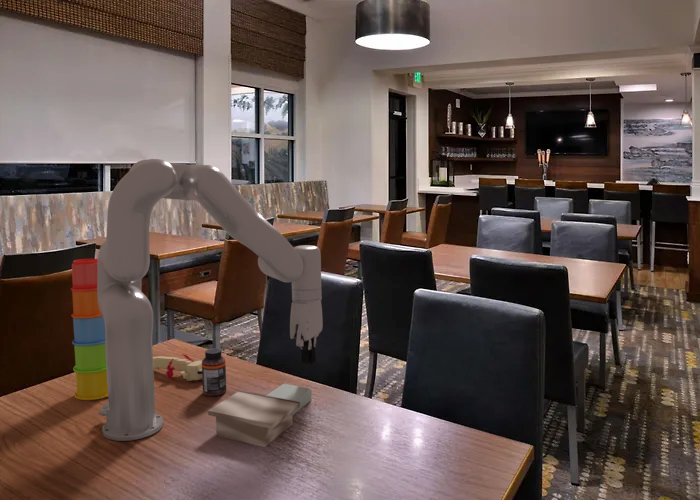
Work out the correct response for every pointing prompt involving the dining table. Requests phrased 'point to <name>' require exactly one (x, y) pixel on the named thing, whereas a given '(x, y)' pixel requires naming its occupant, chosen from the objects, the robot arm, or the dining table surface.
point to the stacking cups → (88, 333)
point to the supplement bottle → (213, 373)
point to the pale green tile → (293, 394)
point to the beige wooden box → (253, 417)
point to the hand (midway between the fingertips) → (308, 362)
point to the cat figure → (179, 367)
